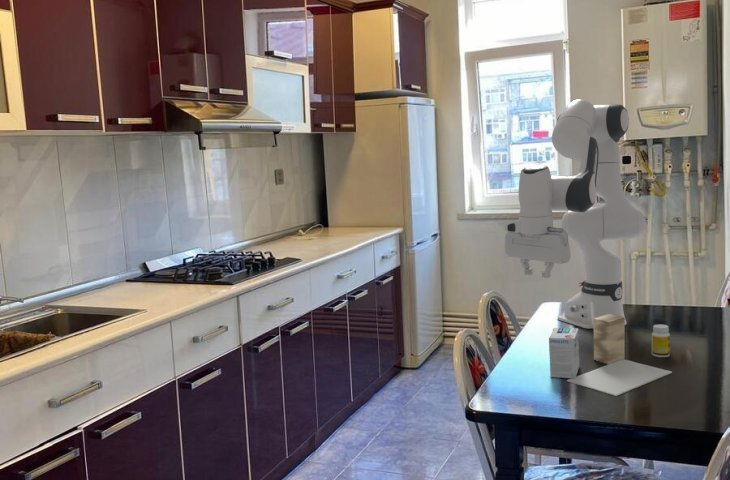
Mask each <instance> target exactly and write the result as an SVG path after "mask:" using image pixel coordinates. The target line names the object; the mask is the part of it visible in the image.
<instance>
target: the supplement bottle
mask: <svg viewBox="0 0 730 480" xmlns="http://www.w3.org/2000/svg"><path fill="white" fill-rule="evenodd" d="M652 330H653V331H652V332H651V355H652V356H654V357H656V358H668V357H670V355H671V334H670V332H669V331H670V329H669V325H667V324H659V323H658V324H654V325H653V326H652Z"/></svg>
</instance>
